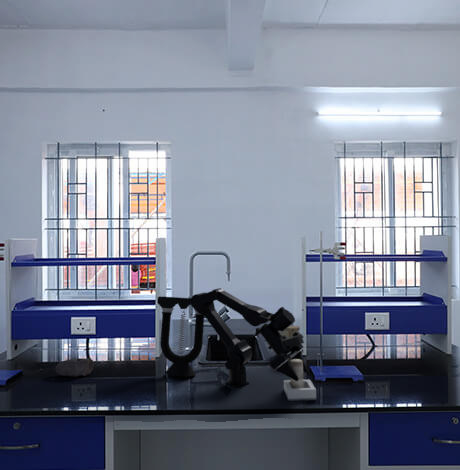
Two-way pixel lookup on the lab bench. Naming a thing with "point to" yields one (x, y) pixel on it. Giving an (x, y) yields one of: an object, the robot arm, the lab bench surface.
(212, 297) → the robot arm
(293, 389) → the socket block
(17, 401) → the lab bench surface
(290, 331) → the handle
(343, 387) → the lab bench surface
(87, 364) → the perforated stone tool
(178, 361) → the spring support
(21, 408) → the lab bench surface
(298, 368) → the peg
